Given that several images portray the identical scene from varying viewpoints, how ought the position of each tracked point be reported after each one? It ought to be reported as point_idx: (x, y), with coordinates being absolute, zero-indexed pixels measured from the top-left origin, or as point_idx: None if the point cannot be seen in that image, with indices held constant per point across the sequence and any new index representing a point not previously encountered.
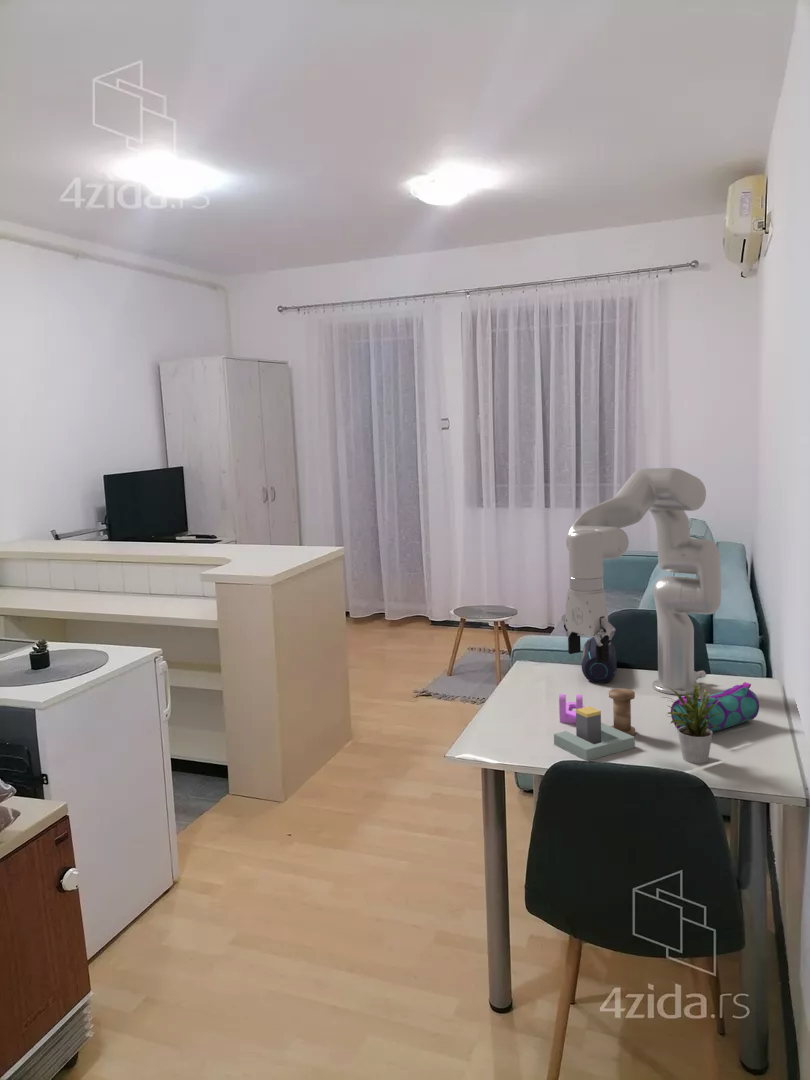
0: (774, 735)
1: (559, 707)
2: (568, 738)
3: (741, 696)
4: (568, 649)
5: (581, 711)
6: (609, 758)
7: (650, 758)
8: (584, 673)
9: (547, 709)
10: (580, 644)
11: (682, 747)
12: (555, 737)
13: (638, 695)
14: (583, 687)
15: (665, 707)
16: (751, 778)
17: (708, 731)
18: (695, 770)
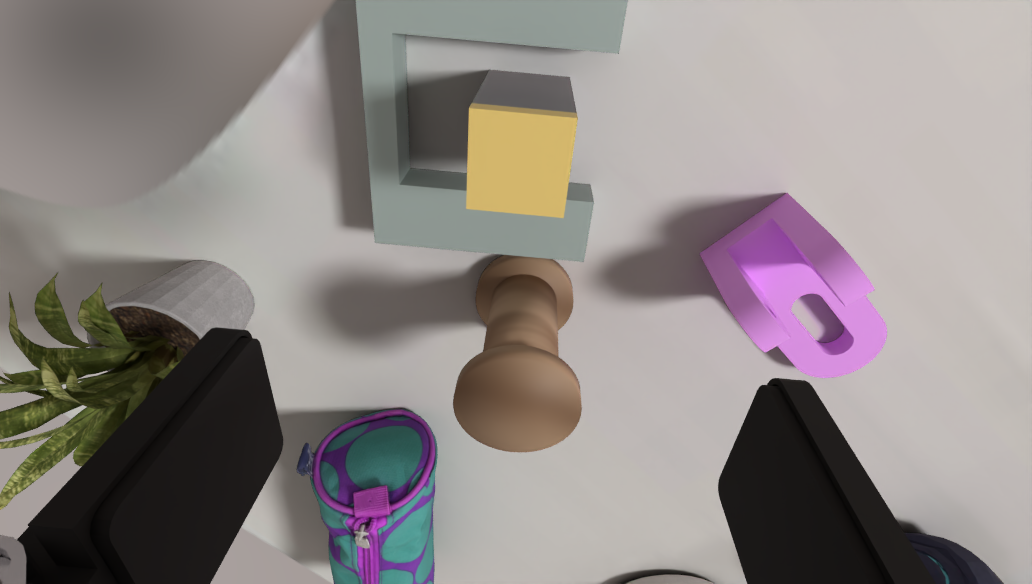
0: (280, 525)
1: (818, 224)
2: None
3: None
4: (827, 415)
5: (527, 117)
6: (344, 57)
7: (274, 189)
8: (963, 552)
9: (932, 265)
10: (744, 572)
11: (189, 281)
12: None
13: (718, 534)
14: (923, 494)
15: (592, 513)
16: (28, 297)
17: None
18: (126, 224)
